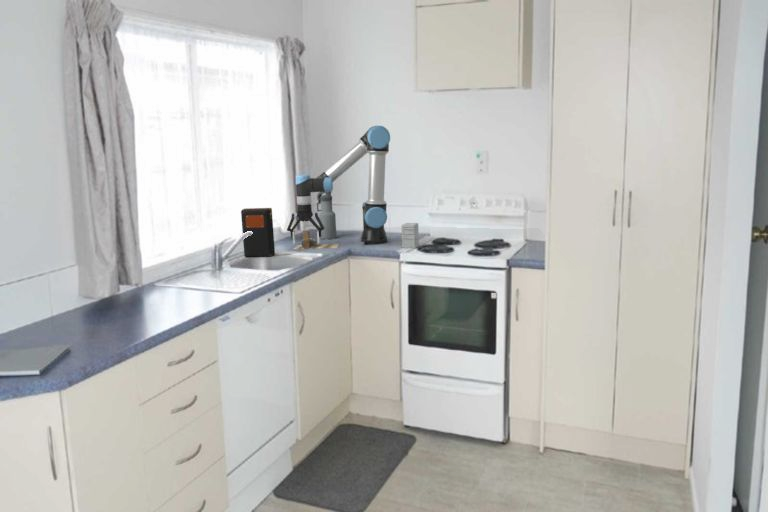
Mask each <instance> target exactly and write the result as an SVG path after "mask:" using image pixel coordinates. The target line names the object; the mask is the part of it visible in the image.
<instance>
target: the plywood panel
mask: <svg viewBox="0 0 768 512" xmlns="http://www.w3.org/2000/svg"><path fill="white" fill-rule="evenodd" d="M340 246H341V244H340V243H339V244H338V243H334V244H330V243H329V244H318V245H317V246H316V247H310V248H308V249H307V250H314V249H315V250H317V249H318V250H319V249H338V248H339V247H340ZM293 250H305V249H304V247H302V244H297V245H296V246H295V247H294V248H293Z"/></svg>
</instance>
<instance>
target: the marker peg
mask: <svg viewBox="0 0 768 512" xmlns="http://www.w3.org/2000/svg"><path fill="white" fill-rule="evenodd" d="M310 238H311V237H310V231H309V230H305V231H302V240H303V245H304V249H303V250H309V249H308V248H310Z"/></svg>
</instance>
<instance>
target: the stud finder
mask: <svg viewBox="0 0 768 512" xmlns="http://www.w3.org/2000/svg"><path fill="white" fill-rule="evenodd" d="M301 245H302V247H304V245H303V239H302V240H301ZM317 245H319V243H318V239H314V238H311V237H310V247H316V246H317Z"/></svg>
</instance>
